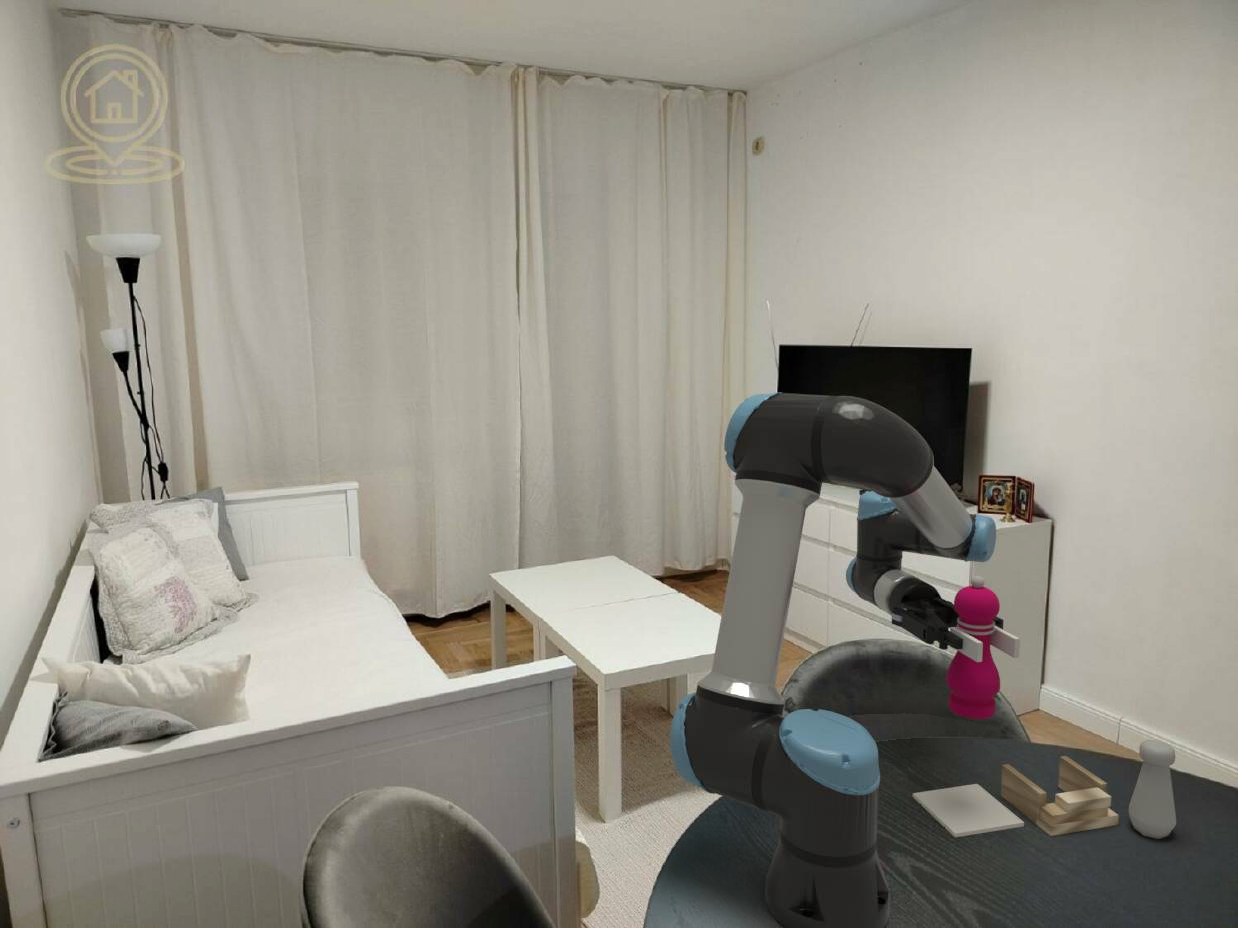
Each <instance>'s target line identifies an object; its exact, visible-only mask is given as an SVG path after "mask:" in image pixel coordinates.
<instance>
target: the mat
mask: <svg viewBox="0 0 1238 928" xmlns="http://www.w3.org/2000/svg"><path fill="white" fill-rule="evenodd" d="M912 798H913V799H914V800H915V801H916V802H917V803H918V804H919V805H920V804H921V805H920V806H922V808H924V810H926V811H927V813H929V814H930V815H931V816H932V817H933V818H934V819H935V820H936V821H937V822H938V823H939V824H940V825H941V826H943V828H944V827H945V828H944V829H945V830H947V831H948V832H949V833H950V834H951V836H953V837H954V838H959V837H966V836H973V835H979V834H985V833H992V832H999V831H1003V830H1005V831H1006V830H1010V829H1016V828H1022V827H1023V828H1024V827H1025V822H1024V821H1023V820H1022V819H1021V818H1020V817H1018V816H1017V815H1016V814H1015V813H1013V812H1012V811H1011V810H1010V809H1009V808H1007V807H1006V805H1003V803H1001V802H1000V801H999V800H998V799H996V798H995V797H994V796H993V795H991V794H990V793H989V792H988V791H987V790H985V789H984V788H983V787H982V786H981V785H980V784H978V783H974V784H966V785H965V784H964V785H960V786H953V787H952V786H951V787H948V788H947V787H945V788H940V789H932V790H925V791H920V792H919V791H918V792H912Z"/></svg>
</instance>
